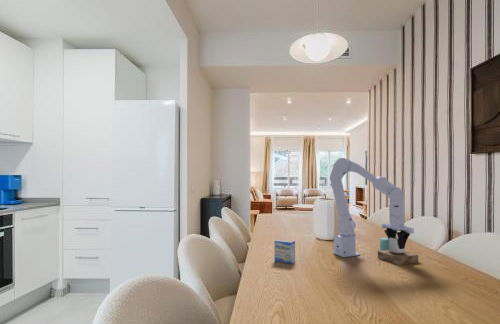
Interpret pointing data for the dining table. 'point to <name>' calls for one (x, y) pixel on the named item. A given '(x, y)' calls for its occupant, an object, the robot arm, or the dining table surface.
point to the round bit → (384, 244)
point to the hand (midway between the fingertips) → (397, 247)
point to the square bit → (395, 245)
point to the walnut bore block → (398, 257)
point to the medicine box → (284, 251)
